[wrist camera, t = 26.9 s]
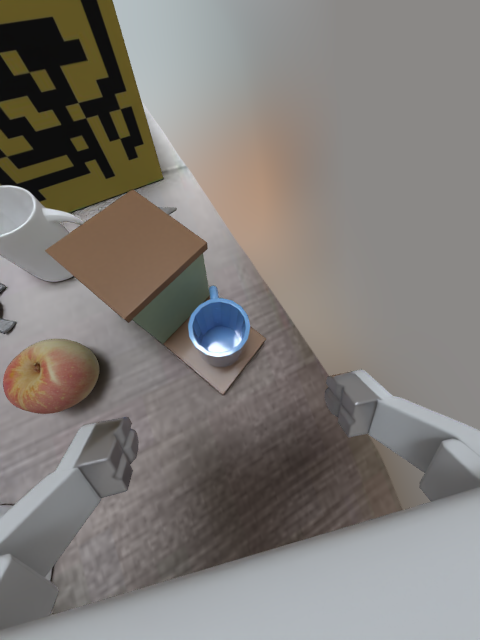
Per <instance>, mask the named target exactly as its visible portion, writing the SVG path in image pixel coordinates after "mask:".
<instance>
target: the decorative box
mask: <svg viewBox="0 0 480 640" xmlns="http://www.w3.org/2000/svg"><path fill="white" fill-rule="evenodd" d="M161 179H163V175H162V172H161V168H160V165H159V161H158V158H157V154H156V151H155V147H154V144H153V140H152V137H151V133H150V130H149V126H148V123H147V119H146V116H145V112H144V109H143V105H142V102H141V98H140V95H139V92H138V88H137V85H136V81H135V78H134V74H133V71H132V67H131V64H130V60H129V57H128V53H127V50H126V46H125V43H124V39H123V36H122V32H121V29H120V25H119V22H118V19H117V15H116V11H115V8H114V4H113V1H112V0H0V186H3V185H11V186H18V187H21V188H24V189H26V190H28V191H29V192H30V193H31V194H32V195H33V196H34V197H35V198H36V199H37V200H38V201H39V202H40V203H41V204H42V205H43V206H44V207H45V208H48V209H54V210H59V211H63V212H67V213H70V212H73V211H75V210H78V209H81V208H84V207H86V206H89V205H92V204H95V203H97V202H100V201H103V200H106V199H108V198H111V197H114V196H117V195H119V194H122V193H125V192H128V191H130V190H132V189H136V188H139V187H141V186H144V185H147V184H150V183H152V182H155V181H158V180H161Z"/></svg>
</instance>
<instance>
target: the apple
mask: <svg viewBox="0 0 480 640" xmlns="http://www.w3.org/2000/svg"><path fill="white" fill-rule="evenodd" d="M98 376H99V364H98V361H97V359H96V357H95V355H94V354H93V353H92V352H91V351H90V350H89V349H88V348H86V347H85V346H83V345H81V344H79V343H77V342H74V341H70V340H65V339H49V340H44V341H41V342H38V343H35V344H33V345H31V346H29V347H28V348H26V349H25V350H23V351H22V352H21V353H20V354H19V355H18V356H16V357H15V358H14V359H13V361H12V362H11V363H10V364H9V366H8V367H7V369H6V371H5V374H4V379H3V387H4V392H5V395H6V397H7V398H8V400H9V401H10V402H11V403H12V404H13V405H15V406H16V407H18V408H20V409H23V410H26V411H29V412H34V413H40V414H49V413H56V412H60V411H63V410H65V409H68V408H70V407H72V406H74V405H76V404H77V403H79V402H80V401H82V400H83V399H84V398H85V397H87V396H88V395H89V393H90V392H91V391H92V389H93V388H94V386H95V384H96V382H97V379H98Z"/></svg>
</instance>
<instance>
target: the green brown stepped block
mask: <svg viewBox="0 0 480 640" xmlns="http://www.w3.org/2000/svg"><path fill="white" fill-rule="evenodd" d="M207 249H208V248H207V242H206V241H204V240H203V239H201V238H200V237H199V236H197V235H196V234H194V233H193V232H192V231H190V230H189V229H187V228H186V227H185V226H183V225H182V224H180V223H179V222H178V221H176V220H175V219H173V218H172V217H171V216H169V215H168V214H166V213H165V212H164V211H162V210H161V209H160V208H158V207H157V206H155V205H154V204H153V203H151V202H150V201H148V200H147V199H146V198H144V197H143V196H141V195H140V194H139V193H137V192H136V191H134V190H133V189H132V190H131V191H129V192H128V193H126V194H125V195H124V196H122V197H121V198H119V199H118V200H116V201H115V202H114V203H112V204H111V205H109V206H108V207H106V208H105V209H104V210H102V211H101V212H99V213H98V214H96V215H95V216H93V217H92V218H91V219H89V220H88V221H86V222H85V223H83V224H82V225H81V226H79V227H78V228H76V229H75V230H73V231H72V232H71V233H69V234H68V235H66V236H65V237H63V238H62V239H61V240H59V241H58V242H56V243H55V244H53V245H52V246H51V247H49V248H48V249H46V250H45V252H47V253H48V254H49V255H50V256H51V257H52V258H53V259H55V260H56V261H57V262H58V263H59V264H60V265H62V266H63V267H64V268H65V269H66V270H67V271H69V272H70V273H71V274H72V275H73V276H74V277H75V278H77V279H78V280H79V281H80V282H81V283H82V284H84V285H85V286H86V287H87V288H88V289H89V290H91V291H92V292H93V293H94V294H95V295H96V296H97V297H99V298H100V299H101V300H102V301H103V302H104V303H106V304H107V305H108V306H109V307H110V308H111V309H113V310H114V311H115V312H116V313H117V314H118V315H119V316H121V317H122V318H123V319H124V320H126V321H127V322H128V323H129V322H130V321H131V320H133V321H135V322H136V323H137V324H138V325H140V326H141V327H142V328H143V329H145V330H146V331H147V332H148V333H150V334H151V335H152V336H154V337H155V338H156V339H157V340H159V341H160V342H161V343H162V344H163V345H165V346H166V347H167V348H168V349H169V350H171V351H172V352H173V353H174V354H175V355H176V356H178V357H179V358H180V359H181V360H182V361H183V362H185V363H186V364H187V365H188V366H189V367H190V368H192V369H193V370H194V371H195V372H196V373H197V374H199V375H200V376H201V377H202V378H203V379H204V380H206V381H207V382H208V383H209V384H210V385H211V386H213V387H214V388H215V389H216V390H217V391H219V392H220V393H221V394H222V395H224V393H225V392H226V391H227V389H228V388H229V387H230V385H231V384H232V383H233V382H234V380H235V379H236V378H237V376H238V375H239V374H240V372H241V371H242V370H243V369H244V367H245V366H246V365H247V363H248V362H249V361H250V360H251V358H252V357H253V356H254V354H255V353H256V352H257V350H258V349H259V348H260V347H261V345H262V344H263V343H264V341H265V340H266V338H265V337H264V336H262V335H261V334H260V333H258V332H257V331H256V330H254V329H253V328H252V327H250V331H249V336H248V340H247V342H246V344H245V347H244V349H243V352H242V354H241V355H240V357H239V358H238V360H237V361H236V362H235V363H233V364H232V365H230V366H227V367H214V366H211V365H209V364H208V363H207V362H205V361H204V360H203V358H202V357H201V355H200V354H199V352H198V351H197V349H196V348H195V346H194V344H193V343H192V341H191V339H190V337H189V330H188V323H189V320H190V317H191V314H192V313H193V312H194V310H195V309H196V308H197V307H198V306H199V305H200V304H202V303H204V302H206V301H208V300H210V295H209V289H208V283H207V276H206V270H205V264H204V258H203V252H205V251H206V250H207Z"/></svg>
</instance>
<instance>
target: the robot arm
mask: <svg viewBox="0 0 480 640" xmlns="http://www.w3.org/2000/svg"><path fill="white" fill-rule="evenodd" d="M326 384H327V385H328V388H327V389H326V391H325V401H326V405H327V407H328V409H329V410H330V412H331V413H332V414H333V415H335V416H337V417H338V423H339V425H340V426H341V428H342V429H343V431H344V432H345V433H346V435H347V436H348V437H353V436H358V435H363V434H368V433H369V434H368V435H370V436H371V437H373V438H374V439H376V440H377V441H379V442H380V443H382V444H383V445H385V446H386V447H387V448H389V449H390V450H392V451H393V452H395V453H396V454H398V455H399V456H401V457H402V458H404V459H405V460H407V461H408V462H409V463H411V464H412V465H414V466H415V467H417V468H418V469H420V470H421V471H423V472H424V473H425V474H424V476H423V478H422V479H421V481H420V489H421V490H422V491H423V492H424V493H425V495H426V496H427V497H428V498H429V500H430V501H431V502H428V503H425V504H421V505H418V506H415V507H411V508H408V509H405V510H401V511H398V512H394V513H391V514H388V515H384V516H381V517H378V518H374V519H371V520H368V521H364V522H361V523H358V524H354V525H351V526H348V527H344V528H341V529H338V530H334V531H331V532H327V533H324V534H321V535H317V536H314V537H311V538H307V539H304V540H301V541H297V542H294V543H291V544H287V545H284V546H281V547H277V548H274V549H271V550H267V551H264V552H260V553H257V554H254V555H250V556H247V557H244V558H240V559H237V560H234V561H230V562H227V563H224V564H220V565H217V566H214V567H210V568H207V569H204V570H200V571H197V572H193V573H190V574H187V575H183V576H180V577H177V578H173V579H170V580H167V581H163V582H160V583H157V584H153V585H150V586H147V587H143V588H140V589H137V590H133V591H130V592H127V593H123V594H120V595H116V596H113V597H110V598H106V599H103V600H100V601H96V602H93V603H90V604H86V605H83V606H80V607H76V608H73V609H70V610H66V611H63V612H60V613H56V614H53V615H50V614H51V611H52V608H53V605H54V603H55V600H56V597H57V595H58V592H59V591H58V588H57V586H56V585H55V584H53V583H52V582H50V580H51V573H52V567H53V566H54V565H55V563H56V562H57V560H58V559H59V558H60V556H61V555H62V553H63V552H64V551H65V549H66V548H67V547H68V545H69V544H70V542H71V541H72V540H73V538H74V537H75V535H76V534H77V533H78V531H79V530H80V529H81V527H82V526H83V524H84V523H85V522H86V520H87V519H88V517H89V516H90V515H91V513H92V512H93V511H94V509H95V508H96V506H97V505H98V504H99V502H100V501H101V498H103V497H107V496H111V495H115V494H118V493H122V492H126V491H127V490H128V487H129V483H130V479H131V475H132V472H133V470H132V468H131V466H130V464H131V463H132V462H133V461H134V460H135V458H136V456H137V452H138V436H137V433H136V431H134V430H133V429H131V424H132V423H131V421H130V419H129V417H124V418H119V419H113V420H107V421H102V422H97V423H92V424H86V425H83V426H82V427H81V428H80V429H79V431H78V432H77V434H76V436H75V437H74V439H73V441H72V443H71V444H70V446H69V448H68V450H67V451H66V453H65V455H64V457H63V458H62V460H61V462H60V464H59V465H58V467H57V469H56V471H55V472H54V473H50V474H48V475H47V476H46V477H45V478H44V479H43V480H42V481H41V482H39V483H38V484H37V485H36V486H35V487H34V488H33V489H32V490H30V491H29V492H28V493H27V494H26V495H25V496H24V497H23V498H22V499H20V500H19V501H18V502H17V503H16V504H15V505H14V506H12V505H0V640H480V430H478V429H476V428H473V427H471V426H469V425H466V424H463V423H461V422H459V421H456V420H454V419H452V418H449V417H447V416H444V415H442V414H440V413H437V412H434V411H432V410H430V409H427V408H425V407H423V406H420V405H418V404H415V403H413V402H410V401H408V400H406V399H403V398H401V397H398V396H395V397H393V396H392V395H391V394H390V393H389V392H388V391H387V390H386V389H385V388H384V387H382V386H381V385H380V384H379V383H378V382H377V381H376V380H375V379H373V378H372V377H371V376H370V375H369V374H368V373H367V372H366V371H364V370H362V369H361V370H356V371H351V372H347V373H342V374H337V375H332V376H328V378H327V380H326Z"/></svg>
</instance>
